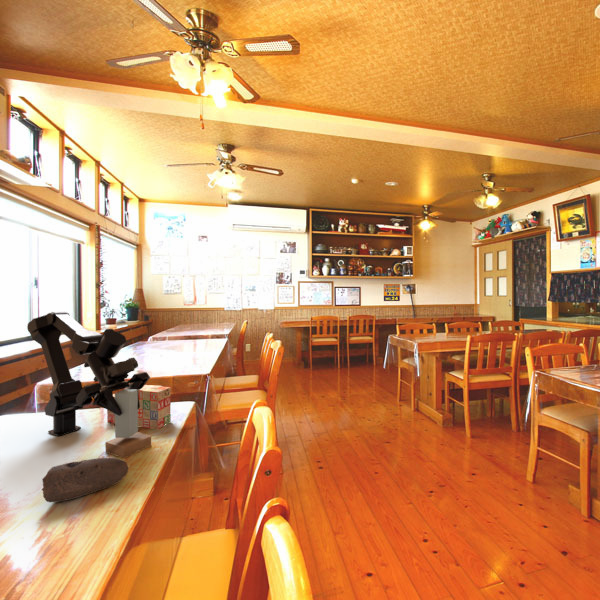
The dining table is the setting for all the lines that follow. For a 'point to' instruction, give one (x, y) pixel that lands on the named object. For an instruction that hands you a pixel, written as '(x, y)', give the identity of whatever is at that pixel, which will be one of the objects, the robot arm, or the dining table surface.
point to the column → (127, 413)
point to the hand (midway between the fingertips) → (129, 411)
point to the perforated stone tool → (82, 478)
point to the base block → (128, 445)
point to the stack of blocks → (151, 407)
